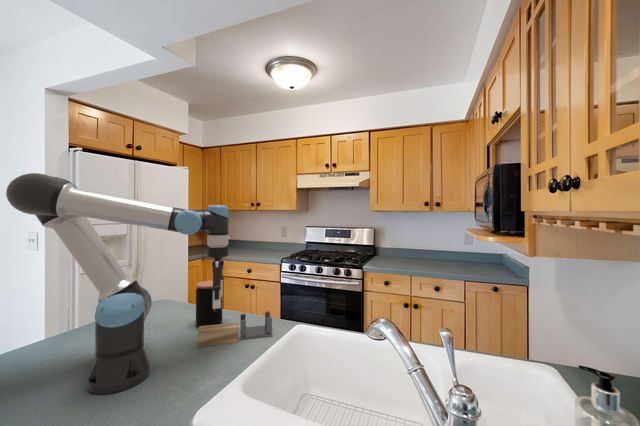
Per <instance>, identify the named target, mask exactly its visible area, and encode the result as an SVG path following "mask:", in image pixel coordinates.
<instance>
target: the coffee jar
mask: <svg viewBox="0 0 640 426" xmlns="http://www.w3.org/2000/svg"><path fill="white" fill-rule="evenodd" d="M195 286H196V290H195V325H196V327H197V329H199V326H208V325H218V324H222V322H223V297H221V308H216V309H213V291H211V288H213V279H212V280H210V279H209V280H204V281H199V282H197V283H196V284H195Z"/></svg>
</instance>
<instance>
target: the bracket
mask: <svg viewBox="0 0 640 426" xmlns="http://www.w3.org/2000/svg"><path fill="white" fill-rule="evenodd" d="M239 335H240V337H239V338H240V341H242V340H251V339H260V338H270V337H273V318H272V316H271V311H269V310H268V311H265V312H264V325H256V326H255V325H254V326H247V318H246V313H240V334H239Z"/></svg>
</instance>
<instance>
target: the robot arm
mask: <svg viewBox="0 0 640 426" xmlns="http://www.w3.org/2000/svg"><path fill="white" fill-rule="evenodd" d="M5 195H6V199H7V201H8V202H9V204H10V205H11V206H12V207H13V208H14V209H15V210H17V211H19V212H21V213H24V214H26V215H34V216H35V217H36V218H37V220H38V222H40V223H41V226H43V228H49V229H52V230H54V232H55V233H56V235H57V236H58V238H59V239H60V240H61V242H62V243H63V244H64V246H65V247H66V249H67V250H68V251H69V253H70V254H71V255H72V257H73V258H74V260H75V261H76V262H77V264H78V265H79V267H80V268H81V269H82V271H83V272H84V273H85V275H86V276H87V278H88V279H89V281H90V282H91V283H92V285H93V286H94V288H95V289H96V290H97V291H98V297H97V302H98V303H97V305H96V307H95V311H94V312H95V313H94V321H95V322H94V323H95V327H94V328H95V330H94V332H95V333H94V335H95V337H94V338H95V339H94V341H95V344H94V345H95V347H94V348H95V349H94V351H95V352H94V353H95V356H94V361H93V363H92V366H91V368H90V371H89V374H88V377H87V379H86V382H87V383H86V384H87V385H86V387H87V391H88V392H89V393H92V394H94V395H107V394H113V393H118V392H122V391H125V390H127V389H128V390H129V389H130V388H133V387H135V386H136V385H139V384H140V383H141V382H143V381H144V380H146V379H147V378H148V377H149V375H150V373H151V360H150V358H149V355H148V353H147V351H146V349H145V321H146V319H147V317H148V314H149V313H150V311H151V308H152V301H153V300H152V296H151V294H150V292H149V291H148V290H147V289H146V288H145V287H143V286H141V285H140V284H139V282H138V280H137V278H134V277H129V276H128V275H127V274H126V273H125V270H123V268H122V267H121V265H120V264H119V262H118V261H117V259H116V258H115V256H114V255H113V254H112V252H111V251H110V249H109V248H108V246H107V245H106V243H105V242H104V241H103V239H102V238H101V236H100V234H99V232H98V231H97V230H96V229H95V227H94V225H92V224H93V223H92V222H90V220H89V218H90V219H95V220H102V221H107V222H114V223H121V224H125V225H132V226H139V227H145V228H151V229H158V230H164V231H169V232H176V233H180V234H182V235H189V236H190V235H194V234H195V233H197V232H200V231H201V232H202V231H203V232H206V231H207V234H206V238H207V239H206V242H207V243H206V245H207V246H208V247H207V253H206V254H207V257H208V258H209V259H210V258H211V259H212V258H214V260H212V262H211V267H212V280H213V288H211V291H213V309H216V308H221V297H222V298H223V292H224V291H223V288H224V285H223V283H224V282H223V281H224V280H225V276H224V275H223V273H224V272H223V270H224V265H225V264H224V263H225V262H224V260H223V258H226V257H228V256H229V254H230V253H229V249H230V248H229V246H228V245H229V240H230V239H231V237H230V236H229V225H230V223H229V222H230V221H229V220H230V219H229V218H230V217H229V216H230V215H229V207H228V206H227V205H221V204H216V205H215V204H210V205H207V209H205V210H204V209H203V210H197V209H196V210H193V209H192V210H191V209H185V208H179V207H173V206H169V205H164V204H159V203H154V202H149V201H143V200H139V199H135V198H134V199H133V198H129V197H123V196H120V195H114V194H108V193H103V192H99V191H93V190H88V189H83V188H79V187H78V186H76V185H75V183H73V182H71V181H69V180H67V179H65V178H63V177H59V176H51V175H48V174H43V173H36V172H32V173H31V172H30V173H25V174H21V175H18V176H17V177H14V179H12V181H10V182H9V184H8V185H7V188H6V193H5Z"/></svg>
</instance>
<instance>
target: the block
mask: <svg viewBox="0 0 640 426" xmlns="http://www.w3.org/2000/svg"><path fill="white" fill-rule="evenodd" d="M238 341H239V322H231V323H230V322H229V323H221V324H218V325H208V326H199V328H197V347H206V346H214V345H224V344H233V343H238Z"/></svg>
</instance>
